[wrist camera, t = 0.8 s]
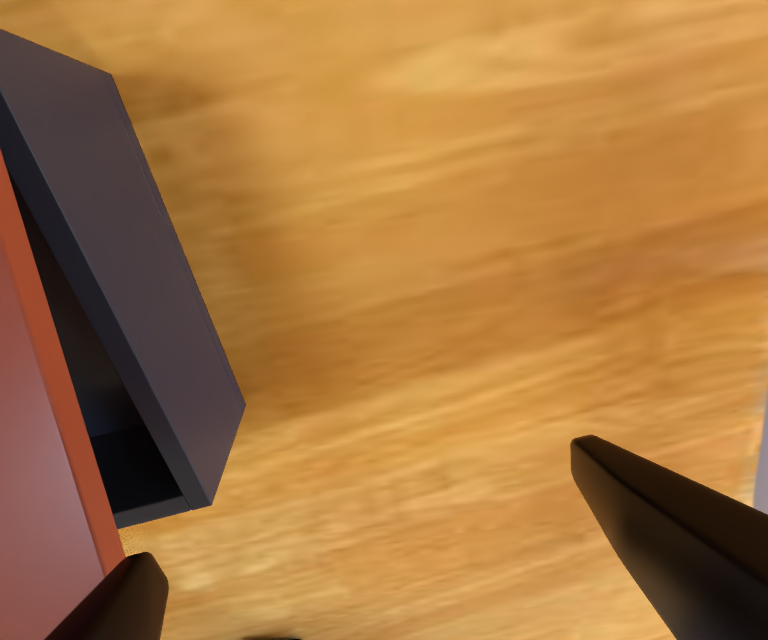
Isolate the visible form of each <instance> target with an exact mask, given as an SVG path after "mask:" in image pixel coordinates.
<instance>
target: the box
mask: <svg viewBox="0 0 768 640" xmlns="http://www.w3.org/2000/svg"><path fill="white" fill-rule="evenodd" d="M0 149H1V152H2V156H3V159H4V162H5V165H6V169H7V172H8V175H9V178H10V182H11V185H12V188H13V191H14V195H15V198H16V201H17V204H18V208H19V211H20V214H21V217H22V221H23V224H24V227H25V231H26V234H27V237H28V240H29V244H30V247H31V250H32V253H33V257H34V260H35V263H36V266H37V270H38V273H39V276H40V279H41V283H42V286H43V289H44V292H45V296H46V299H47V302H48V305H49V309H50V312H51V315H52V319H53V322H54V325H55V328H56V332H57V335H58V338H59V341H60V345H61V348H62V351H63V354H64V358H65V361H66V364H67V367H68V371H69V374H70V377H71V380H72V384H73V387H74V390H75V393H76V397H77V400H78V403H79V407H80V410H81V413H82V416H83V420H84V423H85V426H86V429H87V433H88V436H89V439H90V442H91V446H92V449H93V452H94V455H95V459H96V462H97V465H98V468H99V472H100V475H101V478H102V482H103V485H104V488H105V491H106V495H107V498H108V501H109V504H110V508H111V511H112V514H113V517H114V521H115V524H116V527H117V529H121V528H125V527H129V526H132V525H136V524H140V523H144V522H148V521H152V520H156V519H160V518H163V517H167V516H171V515H175V514H179V513H183V512H187V511H190V510H195V509H199V508H203V507H207V506H211V505H212V503H213V500H214V497H215V494H216V491H217V488H218V485H219V483H220V480H221V477H222V474H223V471H224V468H225V465H226V462H227V459H228V456H229V453H230V450H231V447H232V444H233V442H234V439H235V436H236V433H237V430H238V427H239V424H240V421H241V418H242V415H243V412H244V409H245V406H246V404H245V401H244V399H243V396H242V394H241V391H240V389H239V387H238V384H237V382H236V379H235V377H234V374H233V372H232V369H231V367H230V364H229V362H228V360H227V357H226V355H225V352H224V350H223V347H222V345H221V342H220V340H219V338H218V335H217V333H216V330H215V328H214V325H213V323H212V320H211V318H210V315H209V313H208V311H207V308H206V306H205V303H204V301H203V298H202V296H201V293H200V291H199V289H198V286H197V284H196V281H195V279H194V276H193V274H192V271H191V269H190V266H189V264H188V262H187V259H186V257H185V254H184V252H183V249H182V247H181V244H180V242H179V240H178V237H177V235H176V232H175V230H174V227H173V225H172V222H171V220H170V217H169V215H168V213H167V210H166V208H165V205H164V203H163V200H162V198H161V195H160V193H159V191H158V188H157V186H156V183H155V181H154V178H153V176H152V173H151V171H150V168H149V166H148V164H147V161H146V159H145V156H144V154H143V151H142V149H141V146H140V144H139V142H138V139H137V137H136V134H135V132H134V129H133V127H132V124H131V122H130V119H129V117H128V115H127V112H126V110H125V107H124V105H123V102H122V100H121V97H120V95H119V93H118V90H117V88H116V85H115V83H114V80H113V78H112V75H111V74H109V73H107V72H105V71H102V70H100V69H97V68H95V67H92V66H90V65H87V64H85V63H83V62H80V61H78V60H75V59H73V58H70V57H68V56H65V55H63V54H61V53H58V52H56V51H53V50H51V49H48V48H46V47H43V46H41V45H39V44H36V43H34V42H31V41H29V40H26V39H24V38H21V37H19V36H17V35H14V34H12V33H9V32H7V31H4V30H2V29H0Z"/></svg>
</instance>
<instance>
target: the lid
mask: <svg viewBox="0 0 768 640" xmlns="http://www.w3.org/2000/svg"><path fill="white" fill-rule="evenodd" d="M124 558H126V556H125V553H124V550H123V547H122V543H121V540H120V537H119V534H118V530H117V527H116V524H115V521H114V517H113V514H112V511H111V508H110V504H109V501H108V498H107V495H106V491H105V488H104V485H103V482H102V478H101V475H100V472H99V468H98V465H97V462H96V459H95V455H94V452H93V449H92V446H91V442H90V439H89V436H88V433H87V429H86V426H85V423H84V420H83V416H82V413H81V410H80V407H79V403H78V400H77V397H76V393H75V390H74V387H73V384H72V380H71V377H70V374H69V371H68V367H67V364H66V361H65V358H64V354H63V351H62V348H61V345H60V341H59V338H58V335H57V332H56V328H55V325H54V322H53V319H52V315H51V312H50V309H49V305H48V302H47V299H46V296H45V292H44V289H43V286H42V283H41V279H40V276H39V273H38V270H37V266H36V263H35V260H34V257H33V253H32V250H31V247H30V244H29V240H28V237H27V234H26V231H25V227H24V224H23V221H22V217H21V214H20V211H19V208H18V204H17V201H16V198H15V195H14V191H13V188H12V185H11V182H10V178H9V175H8V172H7V169H6V165H5V162H4V159H3V156H2V152H1V149H0V640H44V639H45V638H46V637H47V636H48V635H49V634H50V633H51V632H52V631H53V630H54V629H55V628H56V627H57V626H58V625H59V624H60V623H61V622H62V621H63V620H64V619H65V618H66V617H67V616H68V615H69V614H70V612H71V611H72V610H73V609H74V608H75V607H76V606H77V605H78V604H79V603H80V602H81V601H82V600H83V599H84V598H85V597H86V596H87V595H88V594H89V593H90V592H91V591H92V590H93V589H94V588H95V587H96V586H97V585H98V584H99V583H100V582H101V581H102V580H103V579H104V578H105V577H106V576H107V575H108V574H109V573H110V572H111V571H112V570H113V569H114V568H115V567H116V566H117V565H118V564H119V563H120V562H121V561H122V560H123V559H124Z"/></svg>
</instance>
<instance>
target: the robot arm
mask: <svg viewBox="0 0 768 640" xmlns="http://www.w3.org/2000/svg"><path fill="white" fill-rule="evenodd" d="M570 448H571V471H572V475H573V478H574V480H575V482H576V484H577V486H578V488H579V490H580V491H581V493H582V495H583V496H584V498H585V500H586V502H587V503H588V505H589V507H590V509H591V510H592V512H593V514H594V516H595V517H596V519H597V521H598V523H599V524H600V526H601V528H602V530H603V531H604V533H605V535H606V537H607V538H608V540H609V542H610V543H611V545H612V547H613V548H614V550H615V552H616V553H617V555H618V557H619V558H620V560H621V561H622V563H623V564H624V566H625V567H626V569H627V570H628V571H629V573H630V574H631V576H632V577H633V579H634V580H635V581H636V583H637V584H638V586H639V587H640V588H641V590H642V591H643V593H644V594H645V596H646V597H647V598H648V600H649V601H650V603H651V604H652V605H653V607H654V608H655V610H656V611H657V612H658V614H659V615H660V617H661V618H662V620H663V621H664V622H665V624H666V625H667V627H668V628H669V629H670V631H671V632H672V634H673V635H674V636H675V638H676V639H677V640H768V515H767V514H765V513H763V512H761V511H758V510H756V509H754V508H752V507H750V506H747V505H745V504H743V503H741V502H739V501H737V500H734V499H732V498H730V497H728V496H726V495H723V494H721V493H719V492H717V491H715V490H713V489H710V488H708V487H706V486H704V485H702V484H699V483H697V482H695V481H693V480H691V479H689V478H686V477H684V476H682V475H680V474H678V473H675V472H673V471H671V470H669V469H667V468H665V467H662V466H660V465H658V464H656V463H654V462H651V461H649V460H647V459H645V458H643V457H641V456H638V455H636V454H634V453H632V452H630V451H627V450H625V449H623V448H621V447H619V446H617V445H614V444H612V443H610V442H608V441H606V440H603V439H601V438H599V437H597V436H594V435H586V436H582V437H578V438H575V439H573V440H572V441H571V445H570ZM168 589H169V586H168V580H167V577H166V576H165V574H164V572H163V571H162V569H161V568H160V566H159V565H158V563H157V561H156V560H155V558H154V557H153V555H152V554H150V553H148V552H143V553H139V554H135V555H131V556H128V557H126V558H124V559H123V560H122V561H121V562H120V563H119V564H118V565H117V566H116V567H115V568H114V569H113V570H112V571H111V572H110V573H109V574H108V575H107V576H106V577H105V578H104V579H103V580H102V581H101V582H100V583H99V584H98V585H97V586H96V587H95V588H94V589H93V590H92V591H91V592H90V593H89V594H88V595H87V596H86V597H85V598H84V599H83V600H82V601H81V602H80V603H79V604H78V605H77V606H76V607H75V608H74V609H73V610H72V611H71V612H70V614H69V615H68V616H67V617H66V618H65V619H64V620H63V621H62V622H61V623H60V624H59V625H58V626H57V627H56V628H55V629H54V630H53V631H52V632H51V633H50V634H49V635H48V636H47V637H46V638H45V639H44V640H160V636H161V630H162V625H163V619H164V614H165V608H166V602H167V597H168ZM292 640H300V639H292Z"/></svg>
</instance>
